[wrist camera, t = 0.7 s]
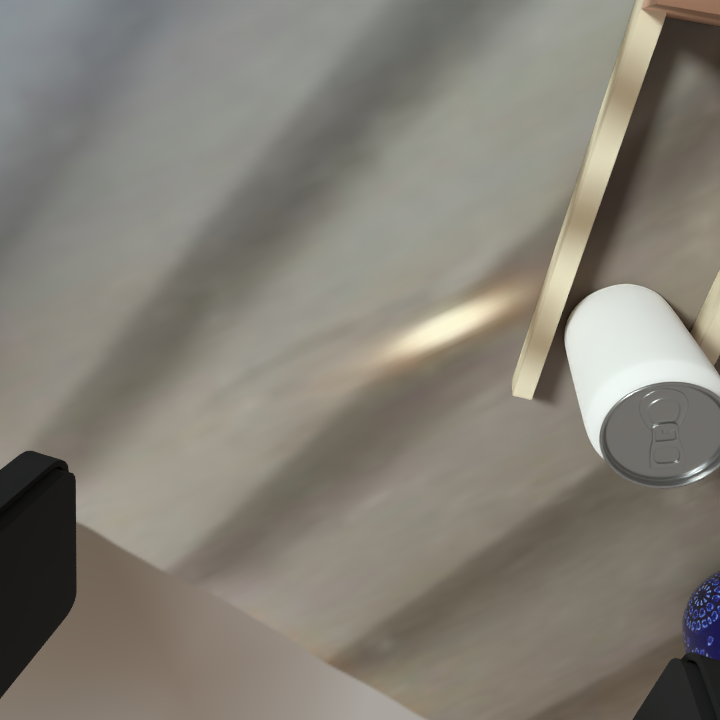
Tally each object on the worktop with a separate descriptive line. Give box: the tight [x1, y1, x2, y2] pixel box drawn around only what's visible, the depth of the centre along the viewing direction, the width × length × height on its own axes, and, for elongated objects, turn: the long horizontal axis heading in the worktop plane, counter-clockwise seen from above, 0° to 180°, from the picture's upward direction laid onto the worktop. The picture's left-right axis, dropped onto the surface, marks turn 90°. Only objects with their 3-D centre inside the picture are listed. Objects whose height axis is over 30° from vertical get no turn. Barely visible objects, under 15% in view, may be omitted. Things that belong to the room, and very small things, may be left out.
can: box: [564, 284, 720, 489], centre depth 32 cm, size 6×6×12 cm
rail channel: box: [512, 0, 720, 400], centre depth 32 cm, size 24×10×5 cm, turn 171°
